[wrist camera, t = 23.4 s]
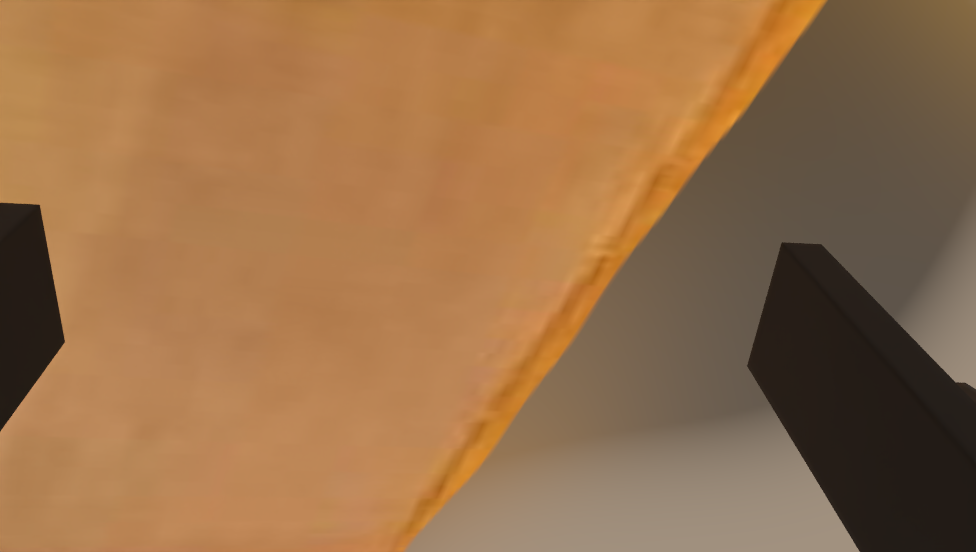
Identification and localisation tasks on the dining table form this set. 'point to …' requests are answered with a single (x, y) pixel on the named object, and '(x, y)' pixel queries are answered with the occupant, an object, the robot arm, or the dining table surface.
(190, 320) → the dining table surface
